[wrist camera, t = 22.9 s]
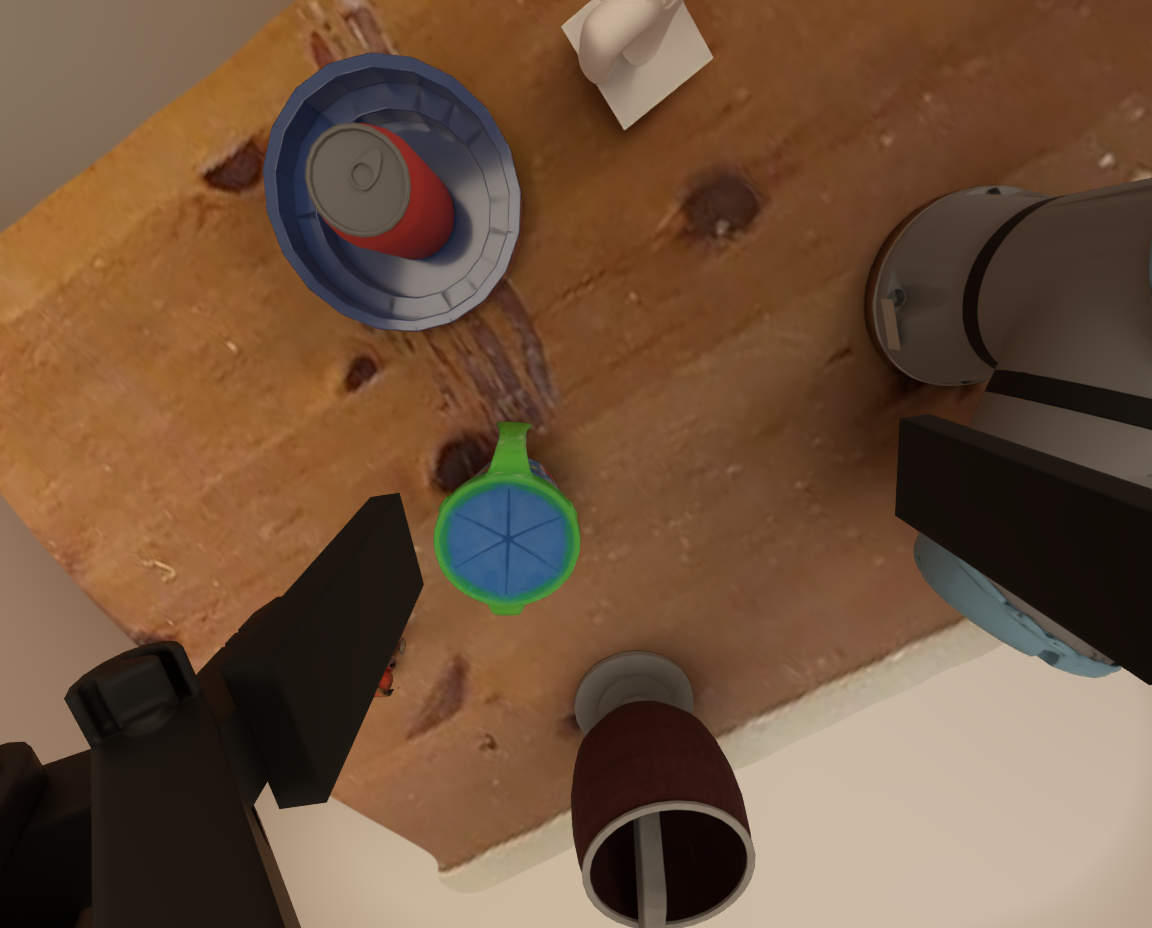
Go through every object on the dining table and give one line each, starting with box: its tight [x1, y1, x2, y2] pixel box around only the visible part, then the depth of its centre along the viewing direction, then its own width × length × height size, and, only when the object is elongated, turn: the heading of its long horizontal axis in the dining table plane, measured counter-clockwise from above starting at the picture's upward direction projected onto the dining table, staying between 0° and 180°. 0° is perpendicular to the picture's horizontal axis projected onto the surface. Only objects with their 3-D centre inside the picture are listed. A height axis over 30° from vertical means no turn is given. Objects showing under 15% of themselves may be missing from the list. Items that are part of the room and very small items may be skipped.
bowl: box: [263, 53, 524, 332], centre depth 38 cm, size 17×17×6 cm
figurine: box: [561, 0, 713, 131], centre depth 31 cm, size 7×9×15 cm
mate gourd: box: [571, 651, 755, 928], centre depth 46 cm, size 16×14×20 cm
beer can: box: [305, 122, 455, 260], centre depth 34 cm, size 7×7×12 cm
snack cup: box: [434, 422, 580, 615], centre depth 43 cm, size 16×10×10 cm
